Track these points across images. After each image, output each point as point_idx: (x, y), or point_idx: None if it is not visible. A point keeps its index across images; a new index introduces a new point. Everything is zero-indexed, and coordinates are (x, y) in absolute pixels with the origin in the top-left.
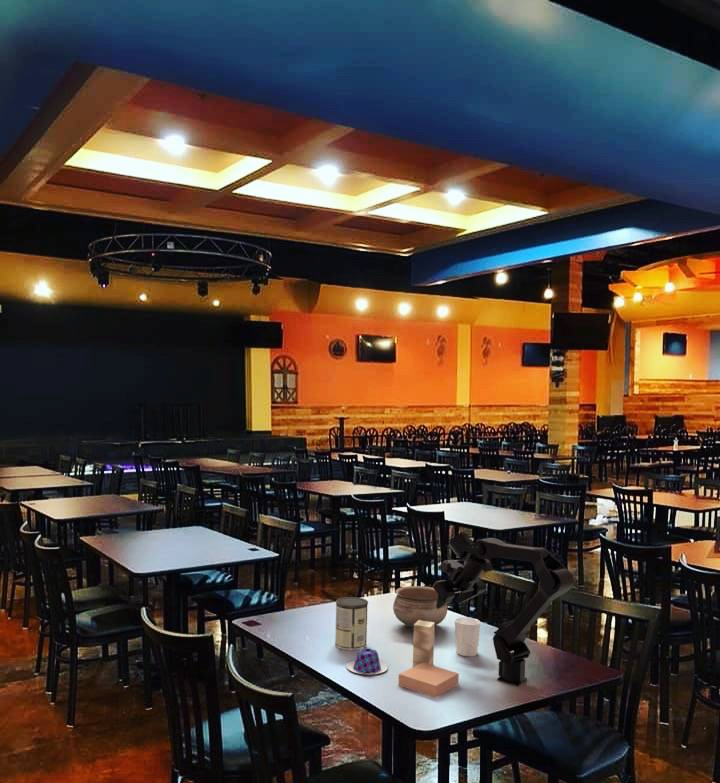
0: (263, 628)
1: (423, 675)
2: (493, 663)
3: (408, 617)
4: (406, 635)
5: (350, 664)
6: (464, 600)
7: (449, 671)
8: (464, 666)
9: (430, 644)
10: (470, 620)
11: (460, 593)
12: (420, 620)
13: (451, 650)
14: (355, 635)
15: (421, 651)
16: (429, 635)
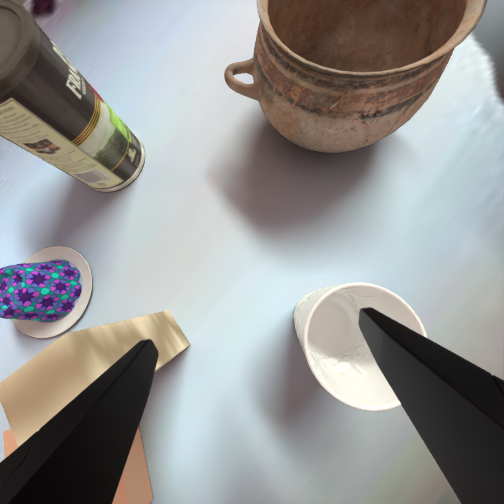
0: None
1: None
2: (342, 426)
3: (264, 113)
4: (258, 153)
5: (36, 259)
6: (411, 419)
7: (121, 502)
8: (251, 399)
9: None
10: (400, 310)
11: (446, 386)
12: (68, 342)
13: (295, 284)
14: (67, 172)
15: None
16: None
